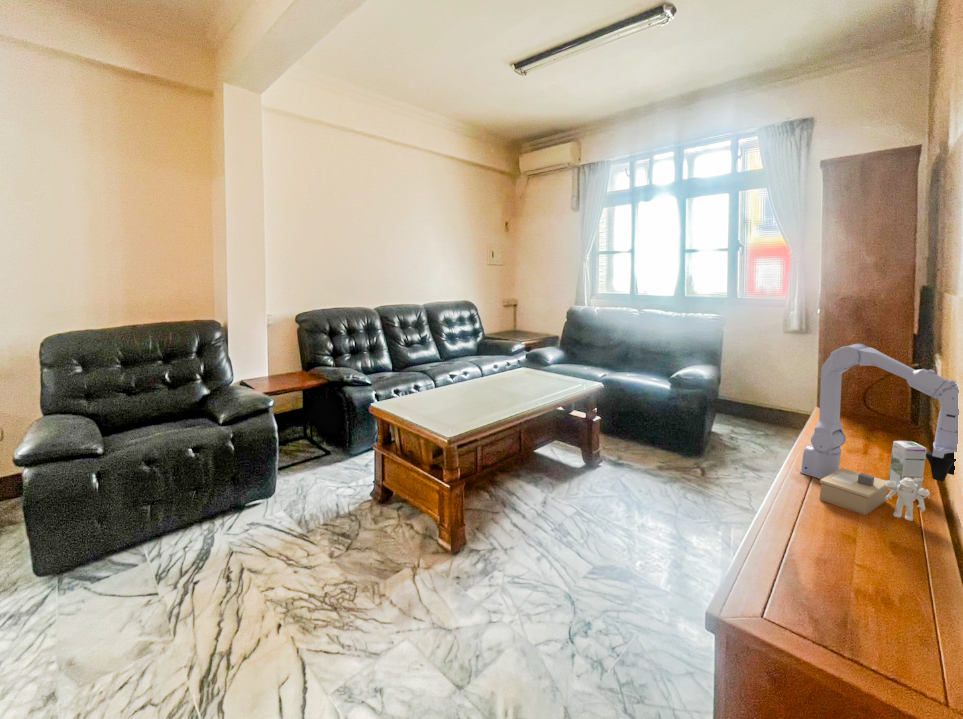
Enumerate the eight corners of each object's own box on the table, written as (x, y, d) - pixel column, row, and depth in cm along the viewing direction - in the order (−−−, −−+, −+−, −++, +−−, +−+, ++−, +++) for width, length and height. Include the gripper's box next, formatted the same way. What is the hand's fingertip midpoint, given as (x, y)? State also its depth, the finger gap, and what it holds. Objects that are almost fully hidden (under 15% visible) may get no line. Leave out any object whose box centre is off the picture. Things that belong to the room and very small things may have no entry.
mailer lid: (819, 482, 134) (820, 471, 133) (841, 470, 141) (843, 460, 141) (868, 497, 124) (870, 486, 123) (889, 484, 131) (891, 473, 131)
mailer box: (819, 499, 135) (821, 483, 134) (840, 487, 142) (842, 472, 141) (865, 515, 125) (867, 498, 124) (885, 501, 133) (887, 485, 132)
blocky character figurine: (926, 520, 122) (933, 478, 120) (924, 526, 119) (931, 483, 117) (882, 508, 129) (888, 468, 127) (879, 513, 126) (885, 472, 124)
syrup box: (921, 493, 136) (929, 447, 134) (898, 492, 138) (905, 446, 135) (908, 485, 142) (915, 440, 139) (886, 484, 143) (892, 440, 140)
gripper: (962, 438, 116) (953, 488, 118) (982, 428, 122) (973, 476, 125) (925, 431, 122) (917, 478, 124) (946, 421, 129) (939, 467, 131)
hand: (943, 476), depth 125 cm, fingers open, 7 cm apart
